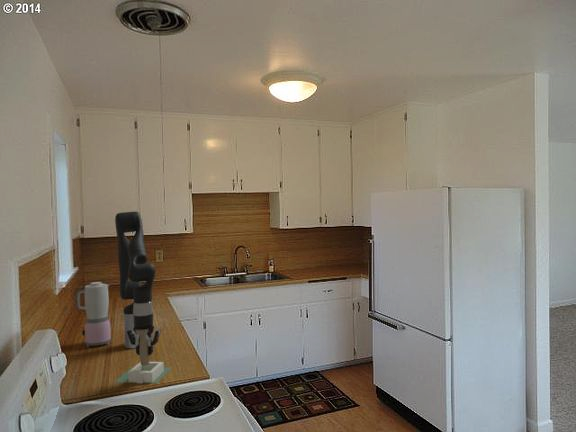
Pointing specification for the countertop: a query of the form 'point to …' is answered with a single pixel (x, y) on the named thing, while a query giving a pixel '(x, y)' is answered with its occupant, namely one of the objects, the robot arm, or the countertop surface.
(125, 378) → the board
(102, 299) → the blender
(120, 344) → the countertop surface
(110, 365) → the countertop surface
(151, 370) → the socket
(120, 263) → the robot arm
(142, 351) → the handle
